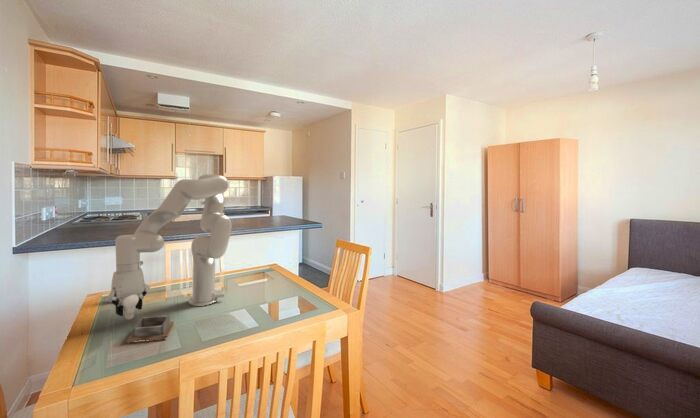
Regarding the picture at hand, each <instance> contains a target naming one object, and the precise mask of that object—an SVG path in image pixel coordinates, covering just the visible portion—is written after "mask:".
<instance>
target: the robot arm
mask: <svg viewBox="0 0 700 418" xmlns="http://www.w3.org/2000/svg"><path fill="white" fill-rule="evenodd" d="M228 188H229V181H228V178H227V177H225V176H223V175H220V174H209V173H207V174H202V175H200V176H199V177H198V178H196V179H189V178H184V179H180V180H178V181H177V182H176V183H175V184H174V186H173V187H172V188H171V190H169V192H168V194H167V196H166V197H165V199H164V200H163V201H162V202H161V203H160V206H158V208H156V209H155V210H153V212H152V213H149V215H147V216H146V217H145V219H143V221H142V222H141V223H140V224H139V226H138V227H137V228H136V230H135V231H134V233H133V234H123V235H118V236H117V237H115V241H114V243H115V267H116V269H115V270H116V271H114V272H113V273H112V279H111V286H110V287H111V288H110V290H111V291H110V293H109V294H108V295H107V297H106V298H105V301H106V302H109V303H111V304H113V305H114V306H115V314H116V315H117V316H120V317H123V316H124V309H123V306H122V305H121V304H122V302H123V299H124V298H126V297H128V296H131V295H135V294H138V296H139V301H138V303H137V305H136V306H135V309H136V310H139V311H141V310H142V309H143V299H144V298H145V296H146V295H147V293H148V292H149V290H150V289H151V287H150V286H149V285H147V284H146V283H145V276H144V271H143V269H142V267H141V266H142V265H144V261H142V260H141V253H155V252H158V251H160V250H161V249H162V248H164V245H165V239H164V238H163V237H162V236H161V235H160V234H158V232H159V230H160V229H161V228H162V227H163V226H165V225H166V224H168V223H170V222H172V221H175V220H177V219H178V218H180V217H181V216H182V214H183V212H184V211H185V209H186V208H187V206H188V205H189V203H190V202H191V200H203V199H204V207H203V210H202V215H201V218H200V222H199V227H200V229H201V230H202V231H203V232H205V233H209V234H210V235H209V234H208V235H207V234H200V235H197V236H196V237H195V238H194V239H193V240H192V242H191V246H190V247H191V253H192V254H191V255H192V295H191V296H192V297H190V298H189V299H188V305H190V306H194V307H203V306H205V305H206V306H210V305H209V304H211V305H213V304H212V303H214V302H216V301H217V300H218V301H219V298H225V293H223V292H222V291H220V292H217V289H216V260H218V259H220V258H222V257H223V256H224V255H225V253H226V251H227V249H228V245H229V241H230V237H231V233H232V228H233V226H232V225H233V224H232V221H231V218H230V217H229V216H227V215H225V214H224V210H225V198H224V193H225V192H227V190H228ZM113 297H116V299H115V300H113V299H112V298H113ZM218 301H217V302H218ZM217 302H216V303H217ZM214 304H215V303H214ZM206 306H205V307H206Z"/></svg>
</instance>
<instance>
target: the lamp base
mask: <svg viewBox="0 0 700 418" xmlns="http://www.w3.org/2000/svg"><path fill="white" fill-rule="evenodd" d="M170 317H171V316H170V315H158V316H145V317H140V318H139V319H138V321H137V322H136V323H135V325H134V326H133V327H132V329H131V333H130V335H129V336H128V337H127V339H126V344H129V343H128V342H134V341H139V340H145V341H146V340H149V342H154V341H153V340H159V341H161V340H160V339H165V338H167V337H169V336H170V334H171V332H172V330H173V327H174V325H175V322H174V321H170V319H171V318H170ZM167 339H168V338H167Z"/></svg>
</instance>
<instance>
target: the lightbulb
mask: <svg viewBox="0 0 700 418" xmlns="http://www.w3.org/2000/svg"><path fill="white" fill-rule="evenodd" d="M138 301H139V296H138V294H135V295H131V296H128V297H126V298H124V299H123V302H122V304H121V305H122V306H123V313H124V315H125V319H126V320H129V321H130V320H132V319H134V317H135V315H134V314H135V313H134V312H135V309H136V308H135V306H136V305H137V303H138Z"/></svg>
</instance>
